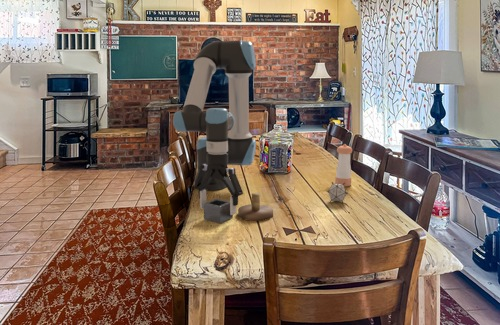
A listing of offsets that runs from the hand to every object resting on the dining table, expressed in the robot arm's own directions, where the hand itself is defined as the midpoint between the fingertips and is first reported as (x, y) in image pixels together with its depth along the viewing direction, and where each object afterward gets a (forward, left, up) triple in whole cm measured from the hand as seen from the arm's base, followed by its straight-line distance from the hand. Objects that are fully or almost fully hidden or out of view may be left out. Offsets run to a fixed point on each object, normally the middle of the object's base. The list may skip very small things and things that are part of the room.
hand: (218, 210), depth 154 cm
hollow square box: (0, 0, -3) cm, 3 cm away
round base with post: (+9, +11, -3) cm, 15 cm away
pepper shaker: (+20, +70, -3) cm, 73 cm away
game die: (+28, +43, -3) cm, 52 cm away
